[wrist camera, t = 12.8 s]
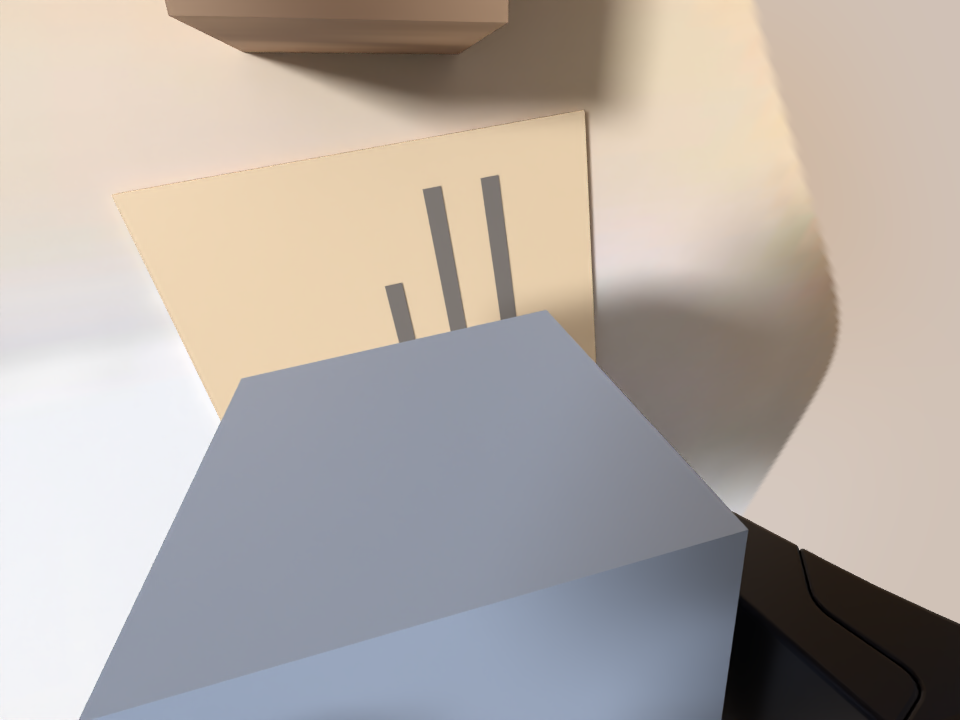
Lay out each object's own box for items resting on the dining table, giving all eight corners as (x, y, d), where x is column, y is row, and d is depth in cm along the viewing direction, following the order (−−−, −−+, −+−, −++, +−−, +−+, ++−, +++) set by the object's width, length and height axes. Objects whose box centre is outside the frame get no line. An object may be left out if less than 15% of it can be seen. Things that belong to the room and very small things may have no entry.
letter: (581, 110, 13) (584, 110, 13) (594, 366, 17) (596, 369, 17) (115, 193, 12) (110, 195, 12) (239, 451, 16) (237, 456, 16)
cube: (567, 524, 11) (707, 812, 6) (333, 588, 10) (308, 954, 6) (546, 309, 8) (748, 530, 4) (241, 377, 8) (75, 722, 3)
